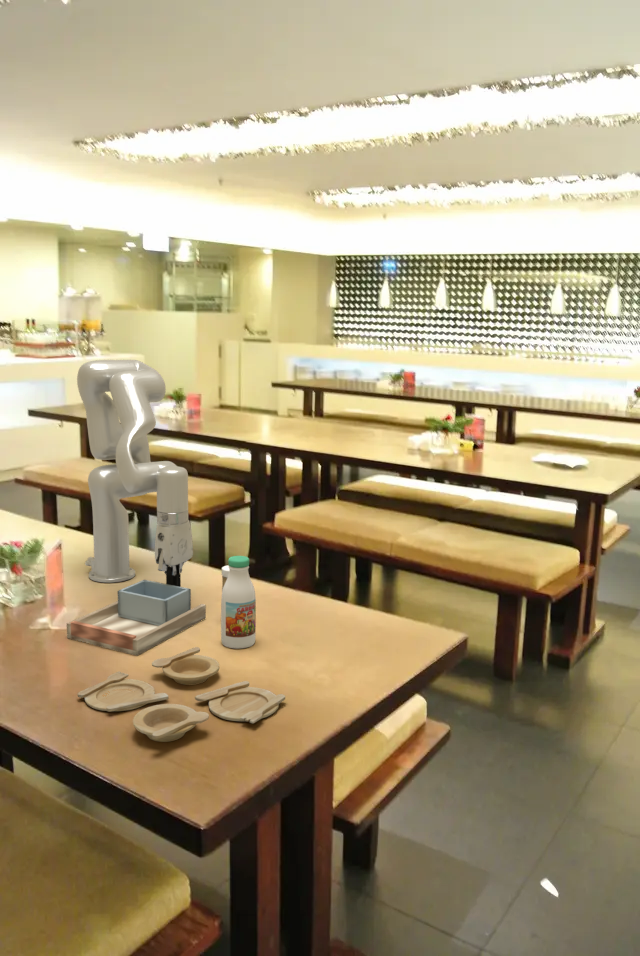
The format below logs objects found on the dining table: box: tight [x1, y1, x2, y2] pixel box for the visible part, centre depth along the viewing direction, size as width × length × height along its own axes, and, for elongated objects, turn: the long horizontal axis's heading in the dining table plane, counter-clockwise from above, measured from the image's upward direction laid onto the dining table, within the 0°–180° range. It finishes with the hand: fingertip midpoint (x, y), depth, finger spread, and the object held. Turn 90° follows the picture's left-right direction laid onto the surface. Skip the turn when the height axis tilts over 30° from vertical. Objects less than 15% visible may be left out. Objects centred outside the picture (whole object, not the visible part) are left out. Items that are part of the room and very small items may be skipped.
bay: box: [66, 600, 207, 657], centre depth 195 cm, size 20×26×4 cm
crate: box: [117, 579, 192, 626], centre depth 199 cm, size 14×10×6 cm
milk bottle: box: [220, 555, 257, 650], centre depth 186 cm, size 8×8×20 cm
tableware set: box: [77, 646, 286, 743], centre depth 158 cm, size 35×29×4 cm
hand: (173, 588), depth 206 cm, fingers closed
